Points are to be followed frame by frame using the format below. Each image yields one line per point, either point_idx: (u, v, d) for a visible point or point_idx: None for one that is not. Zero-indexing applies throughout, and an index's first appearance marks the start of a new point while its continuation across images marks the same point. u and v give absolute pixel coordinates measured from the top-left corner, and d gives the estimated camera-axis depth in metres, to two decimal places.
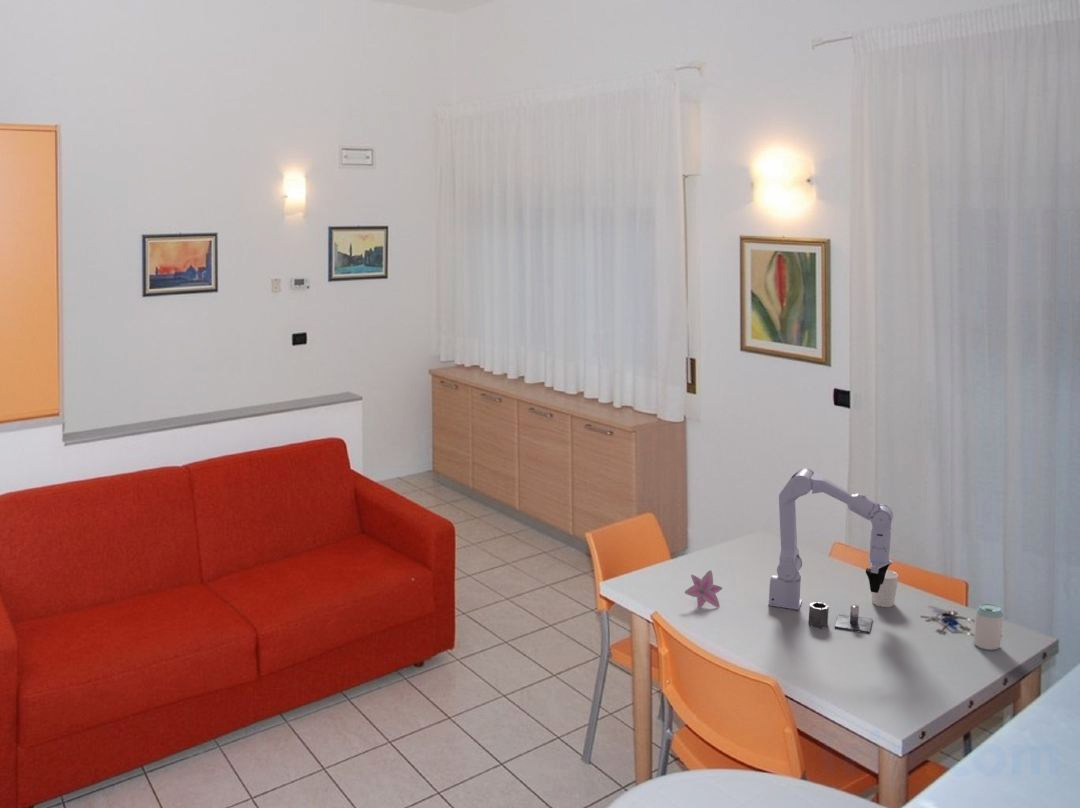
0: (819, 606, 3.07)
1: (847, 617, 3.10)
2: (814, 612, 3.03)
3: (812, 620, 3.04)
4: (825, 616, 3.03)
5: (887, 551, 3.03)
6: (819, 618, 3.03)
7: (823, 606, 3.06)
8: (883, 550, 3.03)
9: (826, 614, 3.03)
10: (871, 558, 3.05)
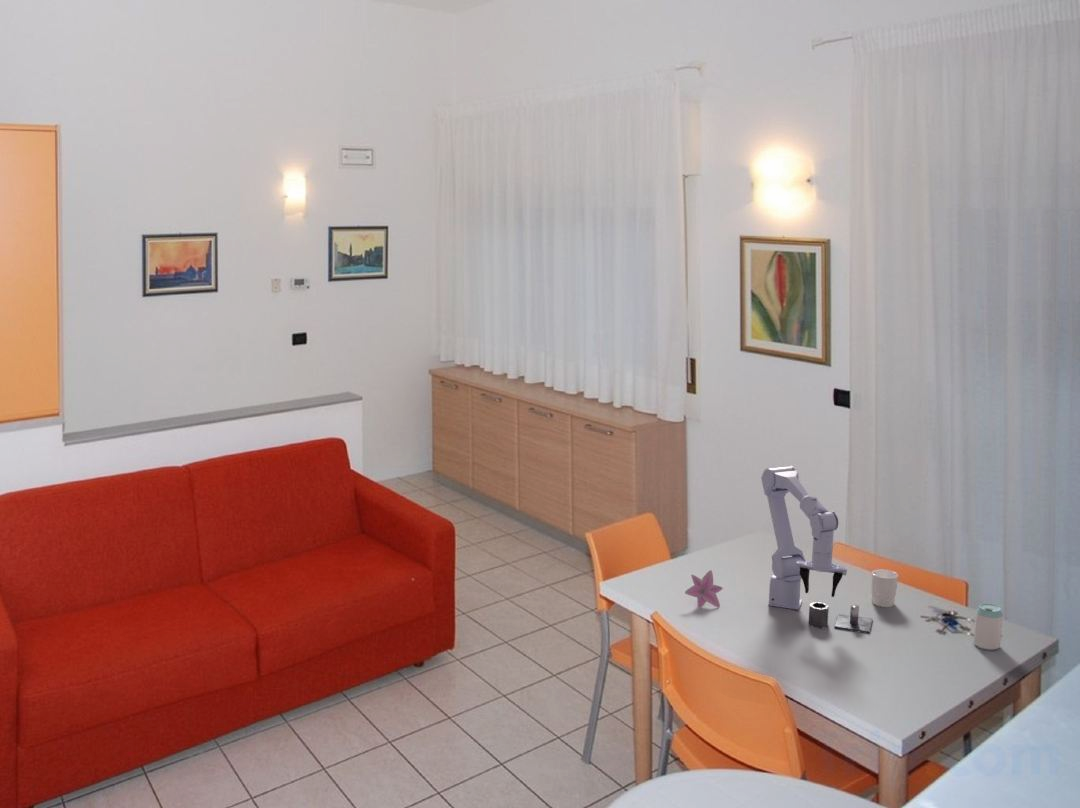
0: (819, 606, 3.07)
1: (847, 617, 3.10)
2: (814, 612, 3.03)
3: (812, 620, 3.04)
4: (825, 616, 3.03)
5: (816, 556, 3.00)
6: (819, 618, 3.03)
7: (823, 606, 3.06)
8: (813, 553, 3.01)
9: (826, 614, 3.03)
10: None
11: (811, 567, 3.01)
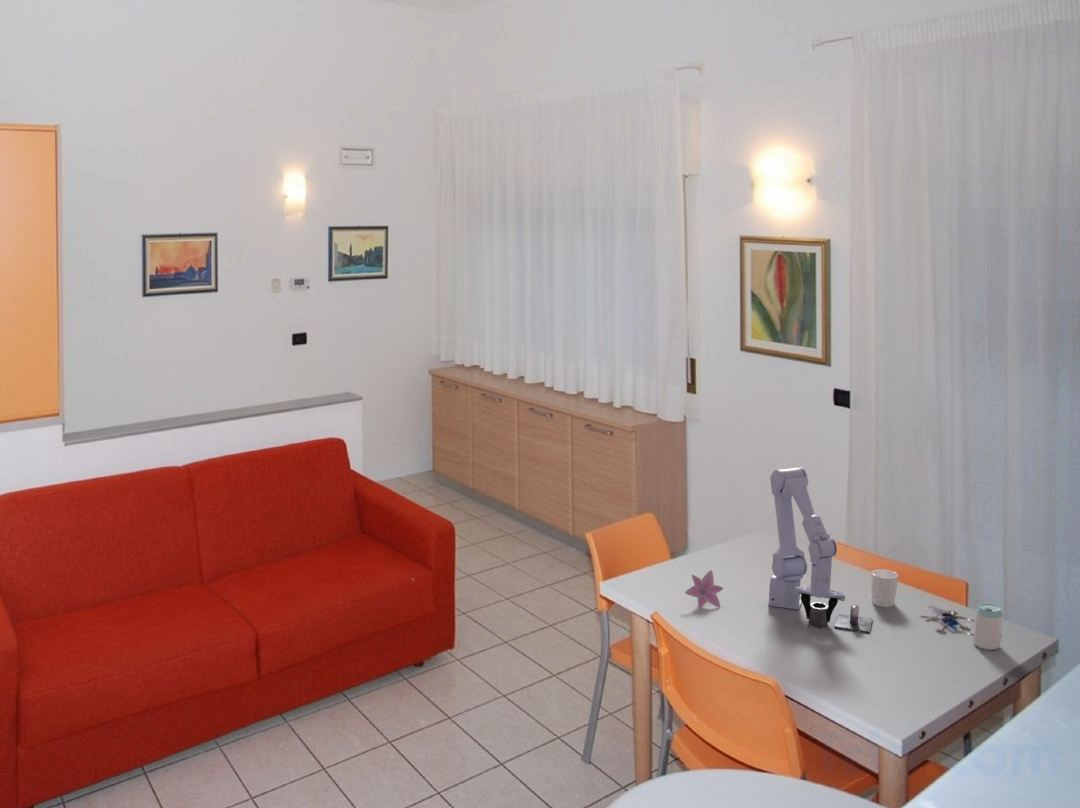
0: (819, 606, 3.07)
1: (847, 617, 3.10)
2: (814, 612, 3.03)
3: (812, 620, 3.04)
4: (825, 616, 3.03)
5: (814, 582, 3.02)
6: (819, 618, 3.03)
7: (823, 606, 3.06)
8: (811, 579, 3.03)
9: (826, 614, 3.03)
10: None
11: (809, 593, 3.03)
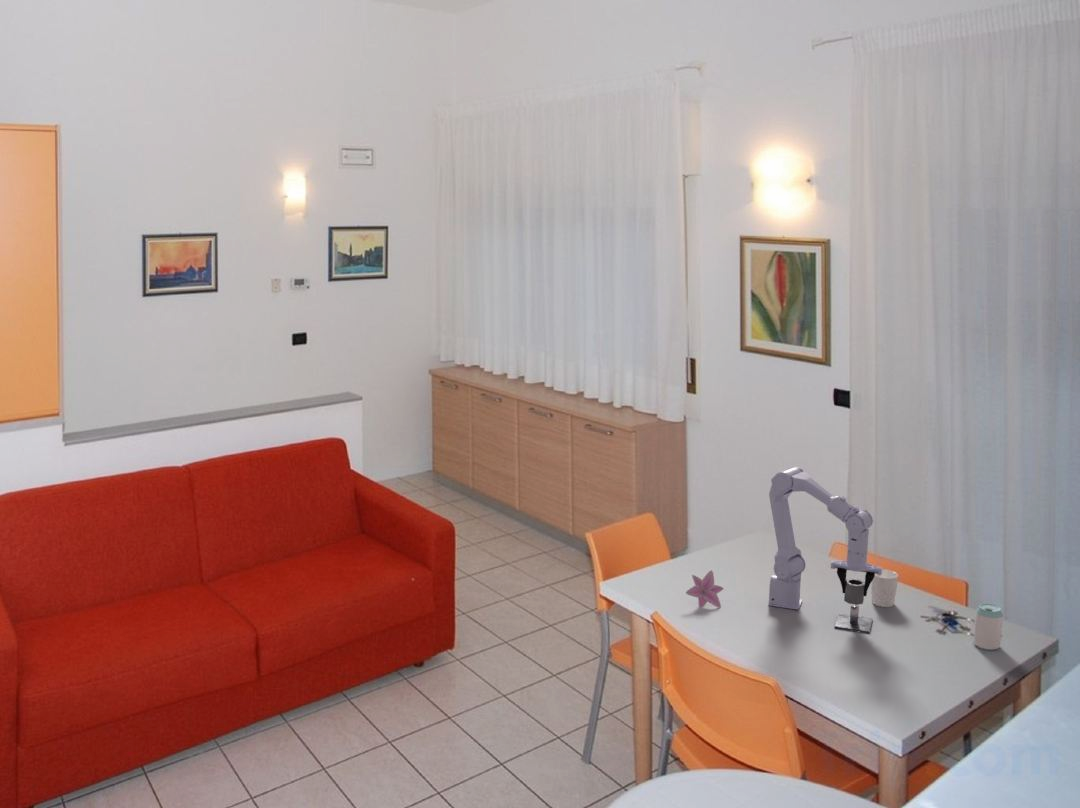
0: (855, 583, 3.05)
1: (847, 617, 3.10)
2: (850, 588, 3.01)
3: (848, 596, 3.02)
4: (861, 593, 3.01)
5: (851, 556, 3.00)
6: (855, 595, 3.01)
7: (859, 583, 3.04)
8: (848, 552, 3.01)
9: (862, 591, 3.01)
10: None
11: (846, 567, 3.01)
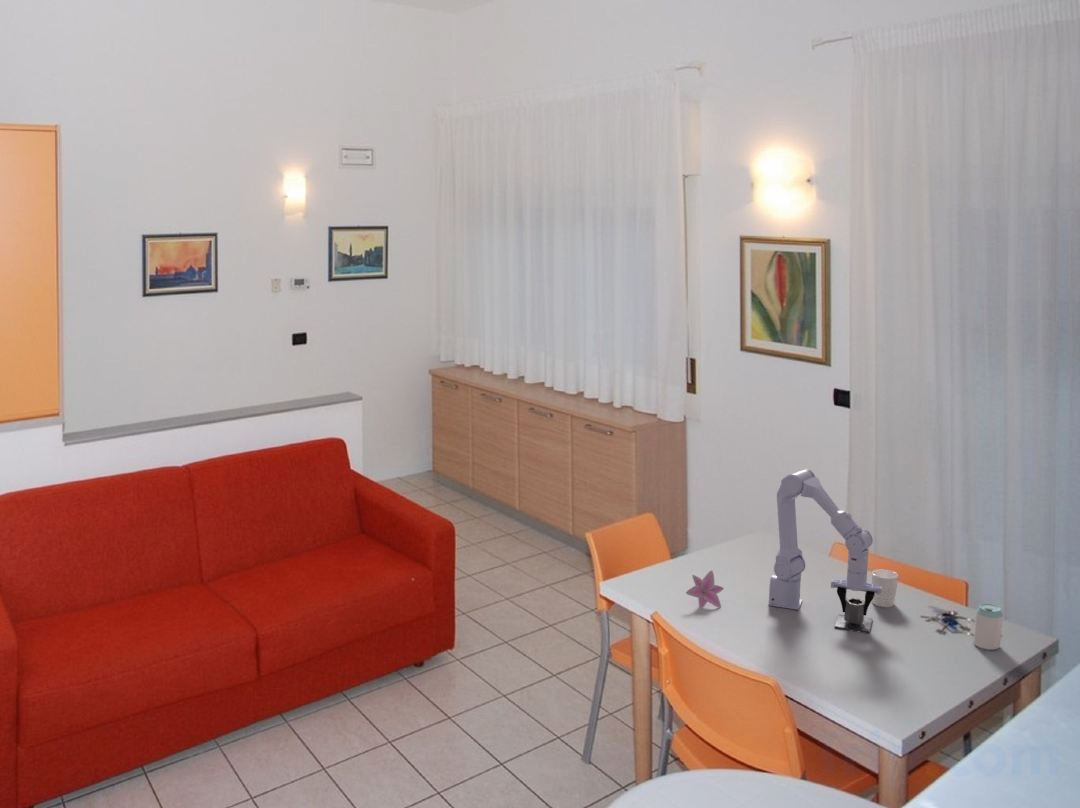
0: (855, 602, 3.06)
1: None
2: (850, 608, 3.03)
3: (848, 616, 3.04)
4: (861, 612, 3.03)
5: (851, 575, 3.01)
6: (855, 614, 3.02)
7: (859, 602, 3.06)
8: (848, 572, 3.02)
9: (862, 610, 3.03)
10: None
11: (846, 586, 3.03)
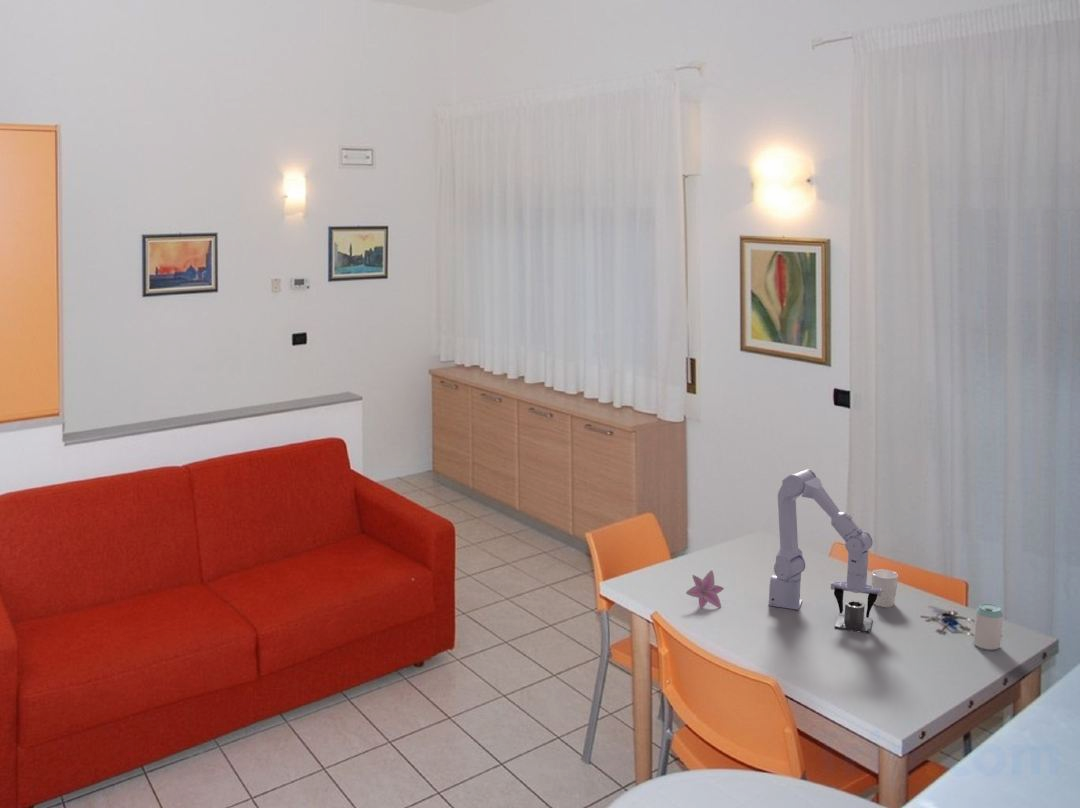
0: None
1: None
2: (850, 610, 3.03)
3: (848, 619, 3.04)
4: (861, 615, 3.03)
5: (851, 577, 3.01)
6: (855, 617, 3.03)
7: (859, 605, 3.06)
8: (848, 574, 3.02)
9: (862, 613, 3.03)
10: None
11: (846, 588, 3.03)
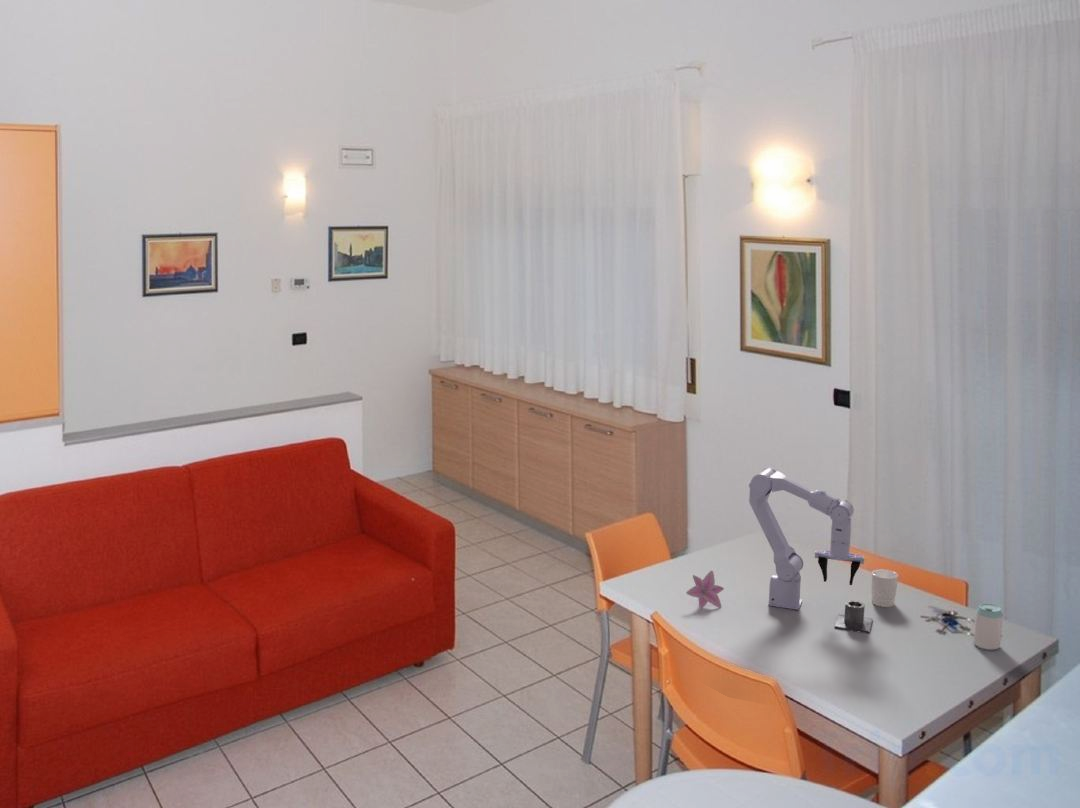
0: None
1: None
2: (850, 610, 3.03)
3: (848, 619, 3.04)
4: (861, 615, 3.03)
5: (834, 545, 3.07)
6: (855, 617, 3.03)
7: (859, 605, 3.06)
8: (831, 542, 3.09)
9: (862, 613, 3.03)
10: None
11: (829, 556, 3.09)
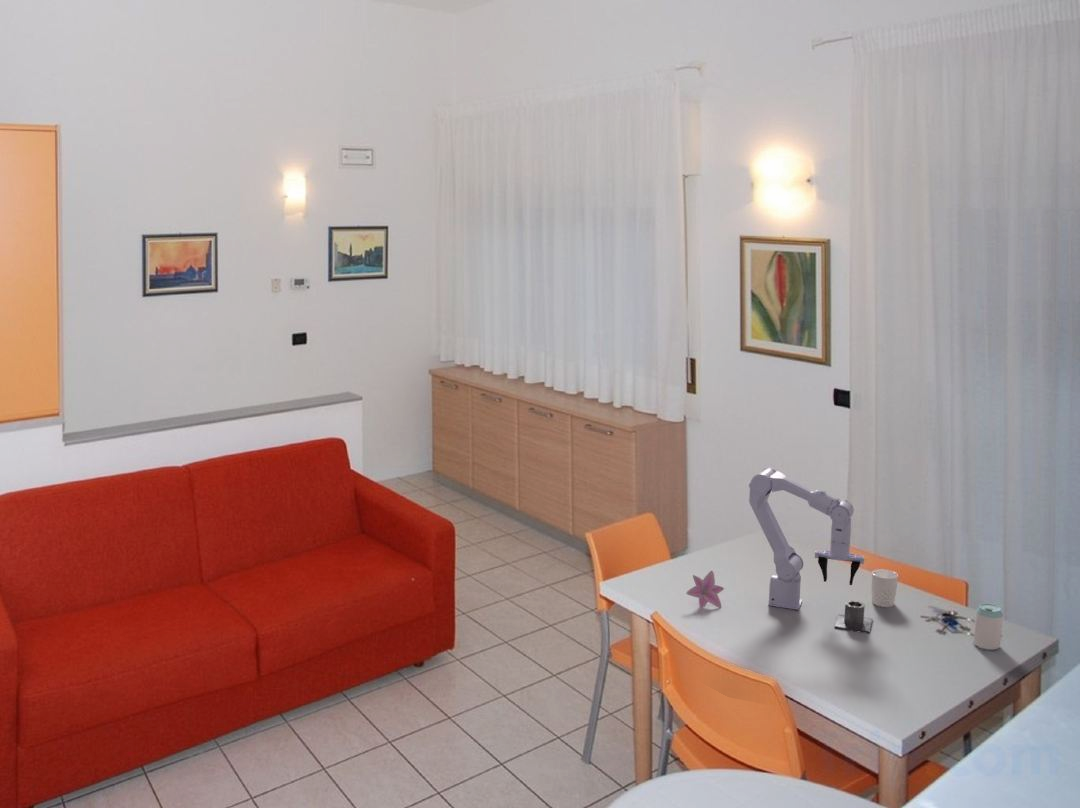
0: None
1: None
2: (850, 610, 3.03)
3: (848, 619, 3.04)
4: (861, 615, 3.03)
5: (834, 545, 3.07)
6: (855, 617, 3.03)
7: (859, 605, 3.06)
8: (831, 542, 3.09)
9: (862, 613, 3.03)
10: None
11: (829, 556, 3.09)
